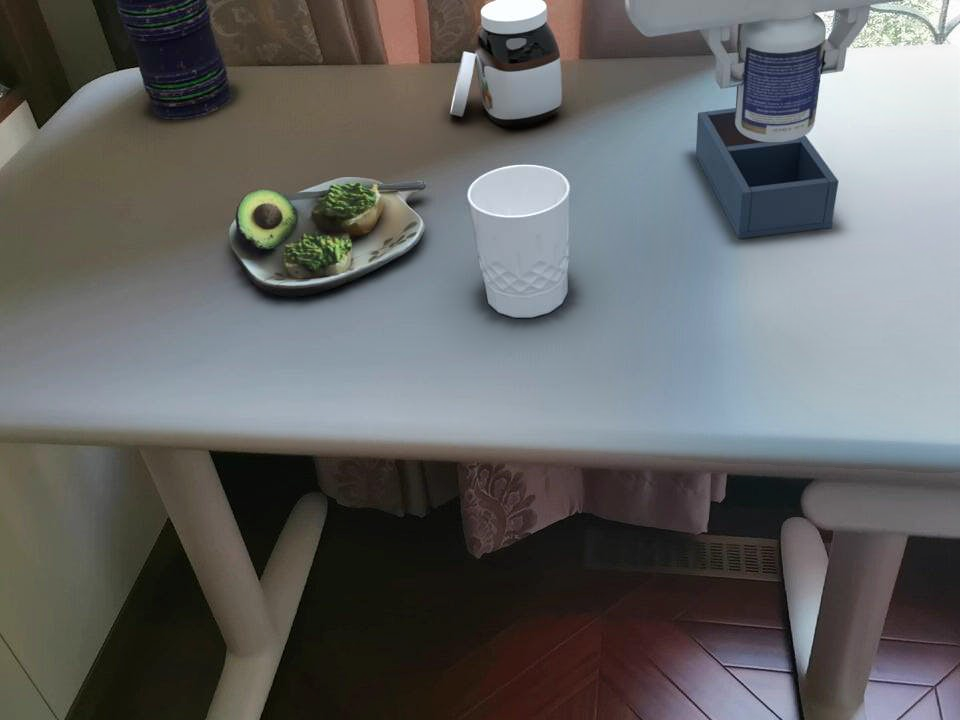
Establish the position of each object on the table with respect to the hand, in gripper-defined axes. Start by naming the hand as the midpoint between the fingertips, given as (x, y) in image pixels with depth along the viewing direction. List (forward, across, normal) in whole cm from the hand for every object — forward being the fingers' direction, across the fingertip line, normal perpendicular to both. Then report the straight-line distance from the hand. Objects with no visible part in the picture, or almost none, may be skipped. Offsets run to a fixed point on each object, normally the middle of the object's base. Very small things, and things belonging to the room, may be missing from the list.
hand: (777, 77), depth 65 cm
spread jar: (+18, +17, -38) cm, 46 cm away
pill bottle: (+4, 0, 0) cm, 4 cm away
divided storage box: (+19, -5, -16) cm, 25 cm away
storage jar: (+18, +54, -53) cm, 77 cm away
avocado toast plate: (+18, +36, -17) cm, 44 cm away
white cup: (+18, +18, -4) cm, 26 cm away
